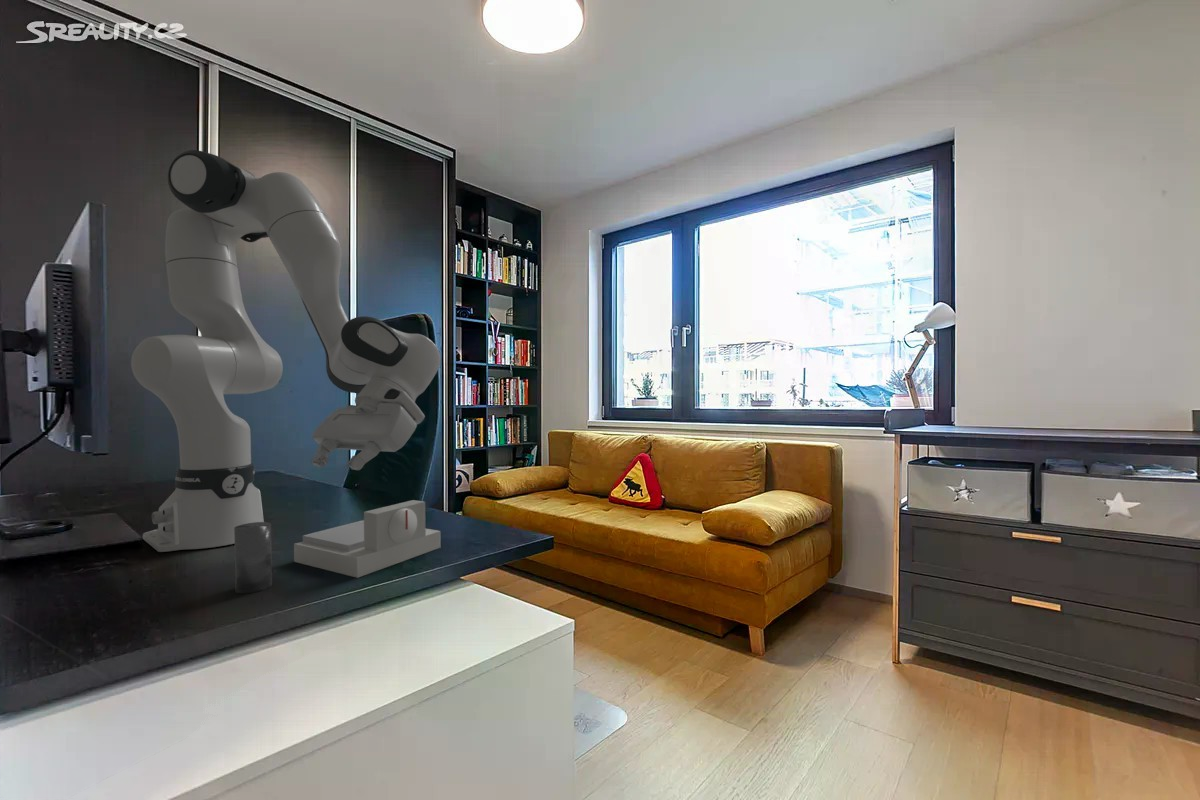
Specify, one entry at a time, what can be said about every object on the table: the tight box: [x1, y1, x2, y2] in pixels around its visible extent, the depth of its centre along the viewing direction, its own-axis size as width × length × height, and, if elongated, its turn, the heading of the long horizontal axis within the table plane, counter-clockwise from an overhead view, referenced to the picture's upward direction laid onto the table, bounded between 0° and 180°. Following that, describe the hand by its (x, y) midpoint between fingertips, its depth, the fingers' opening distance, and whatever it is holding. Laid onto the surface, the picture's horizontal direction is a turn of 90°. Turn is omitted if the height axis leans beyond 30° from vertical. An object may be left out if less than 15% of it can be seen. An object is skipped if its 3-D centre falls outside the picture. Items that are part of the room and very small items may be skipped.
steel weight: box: [234, 521, 273, 595], centre depth 75 cm, size 4×4×9 cm
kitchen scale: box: [293, 499, 442, 578], centre depth 90 cm, size 16×17×9 cm
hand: (334, 466), depth 86 cm, fingers open, 8 cm apart
